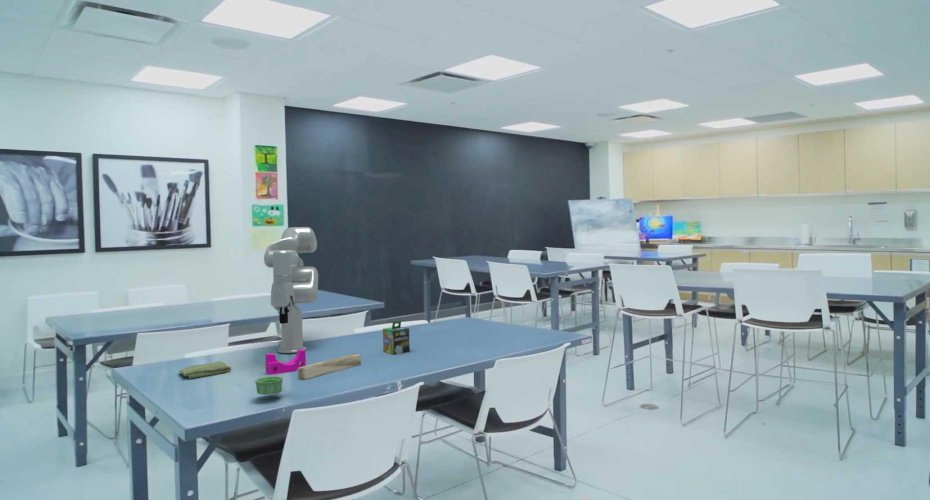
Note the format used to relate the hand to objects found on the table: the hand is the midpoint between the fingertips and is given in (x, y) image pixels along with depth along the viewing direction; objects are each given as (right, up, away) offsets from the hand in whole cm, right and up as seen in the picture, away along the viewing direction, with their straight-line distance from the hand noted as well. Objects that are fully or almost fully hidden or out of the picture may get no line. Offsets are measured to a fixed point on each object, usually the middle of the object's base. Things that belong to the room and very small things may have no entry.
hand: (283, 323), depth 240 cm
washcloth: (-28, -19, -11) cm, 36 cm away
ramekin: (+9, -18, -44) cm, 48 cm away
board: (+23, -17, -14) cm, 32 cm away
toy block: (+5, -18, -11) cm, 22 cm away
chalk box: (+45, -17, +21) cm, 52 cm away
